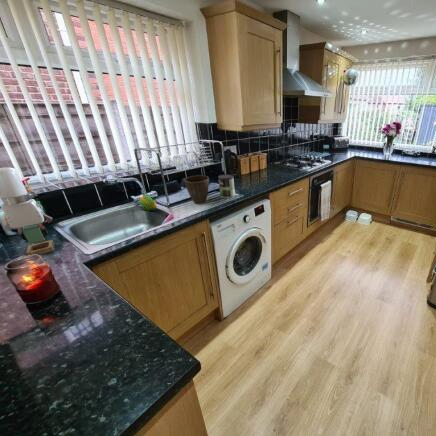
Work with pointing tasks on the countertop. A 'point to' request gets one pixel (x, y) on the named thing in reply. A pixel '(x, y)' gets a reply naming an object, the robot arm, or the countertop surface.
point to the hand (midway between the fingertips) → (36, 238)
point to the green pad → (33, 234)
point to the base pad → (40, 245)
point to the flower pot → (197, 188)
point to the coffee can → (226, 186)
